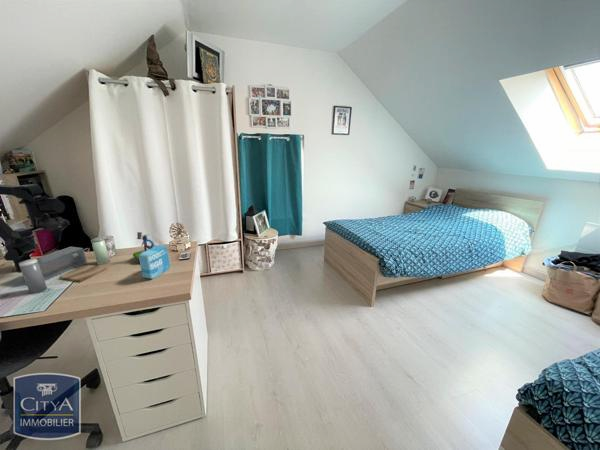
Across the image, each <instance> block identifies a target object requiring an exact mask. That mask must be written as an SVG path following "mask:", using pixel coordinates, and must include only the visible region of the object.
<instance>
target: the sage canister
mask: <svg viewBox="0 0 600 450" xmlns="http://www.w3.org/2000/svg"><path fill="white" fill-rule="evenodd" d="M90 242H91V245H92V250H93V252H94V253H93V254H94V256H95V260H96V266H103V265H104V266H105V265H107V264H109V263H110V258H109V253H108V249H107V245H106V240H105V238H104V236H100V237H99V236H98V237H94V238H91V239H90Z"/></svg>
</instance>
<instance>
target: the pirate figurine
mask: <svg viewBox="0 0 600 450" xmlns="http://www.w3.org/2000/svg"><path fill="white" fill-rule="evenodd" d="M136 233H137V238H136V239H137V240H142V243H141V245H139V248H142V247H143V249H142V250H139V251H136V252H133V254H132V256H133V258H134V259H136V260H139V255H140V254H141V253H143V252H145V251H147V250H149V249H151V248H153V247H155V243H154V242H153V240H152V239H150V238H149V239H148V234H143V232H142V231H139V232H136ZM148 242H149V243H150V244H151V245H150V244H148Z"/></svg>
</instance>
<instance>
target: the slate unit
mask: <svg viewBox="0 0 600 450" xmlns="http://www.w3.org/2000/svg"><path fill="white" fill-rule="evenodd" d="M35 259H37V261H38V264H39V266H40V269H41V272H42V275H43V278H44V280H45V282H46V281H49V280H50V279H52V278H56V277H57V276H61V275H63V274H65V273H68V272H70V271H71V270H73V269H74V270H75V269H77V268H79V267H82V265H83V266H84V265H86V264H87V263H88V261H87V257H86V253H85V250H84V248H83V247H76V246H69V247H66V248H63V249H60V250H57V251H54V252H51V253H47V254H45V255H43V256H39V257H37V258H35Z"/></svg>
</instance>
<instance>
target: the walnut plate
mask: <svg viewBox="0 0 600 450" xmlns="http://www.w3.org/2000/svg"><path fill="white" fill-rule="evenodd" d="M106 270H108V268H107V267H106V266H101V265H93V264H83V266H82V265H81V266H79V267H77V268H74V270H73V269H72V271H71V270H70V271H67V272H65V273H63V274H61V275H58V276H59V279H60V280H66V281H71V282H77V283H83V282H84V281H86V280H88V279H90V278H92V277H94V276H97V275H98V274H100V273H103V272H105V271H106Z"/></svg>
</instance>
